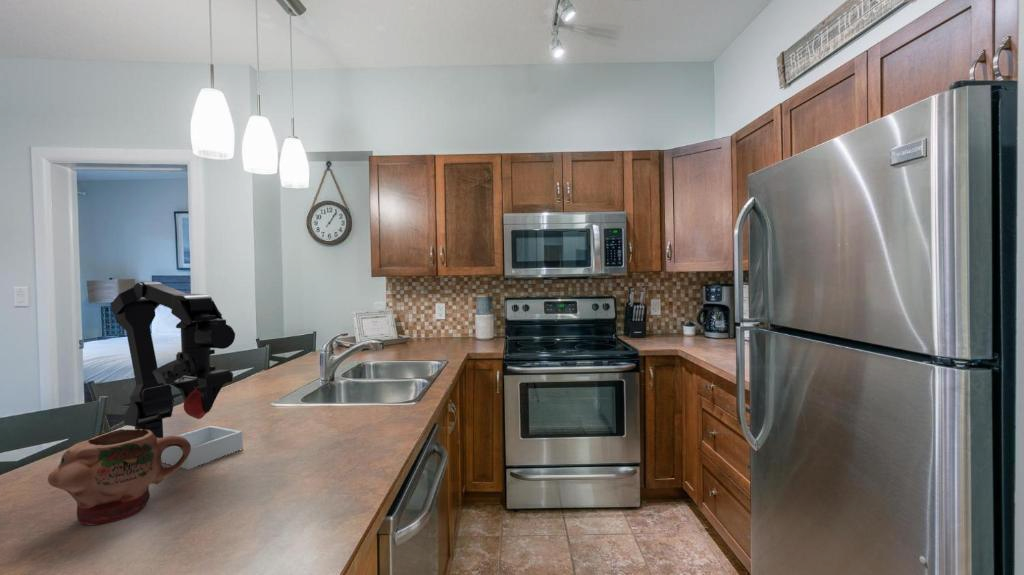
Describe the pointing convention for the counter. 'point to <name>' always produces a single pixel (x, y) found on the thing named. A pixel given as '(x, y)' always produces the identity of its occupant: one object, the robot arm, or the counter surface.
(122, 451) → the tan novelty mug
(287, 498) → the counter surface
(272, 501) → the counter surface
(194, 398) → the onion
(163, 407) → the robot arm
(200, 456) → the bin
